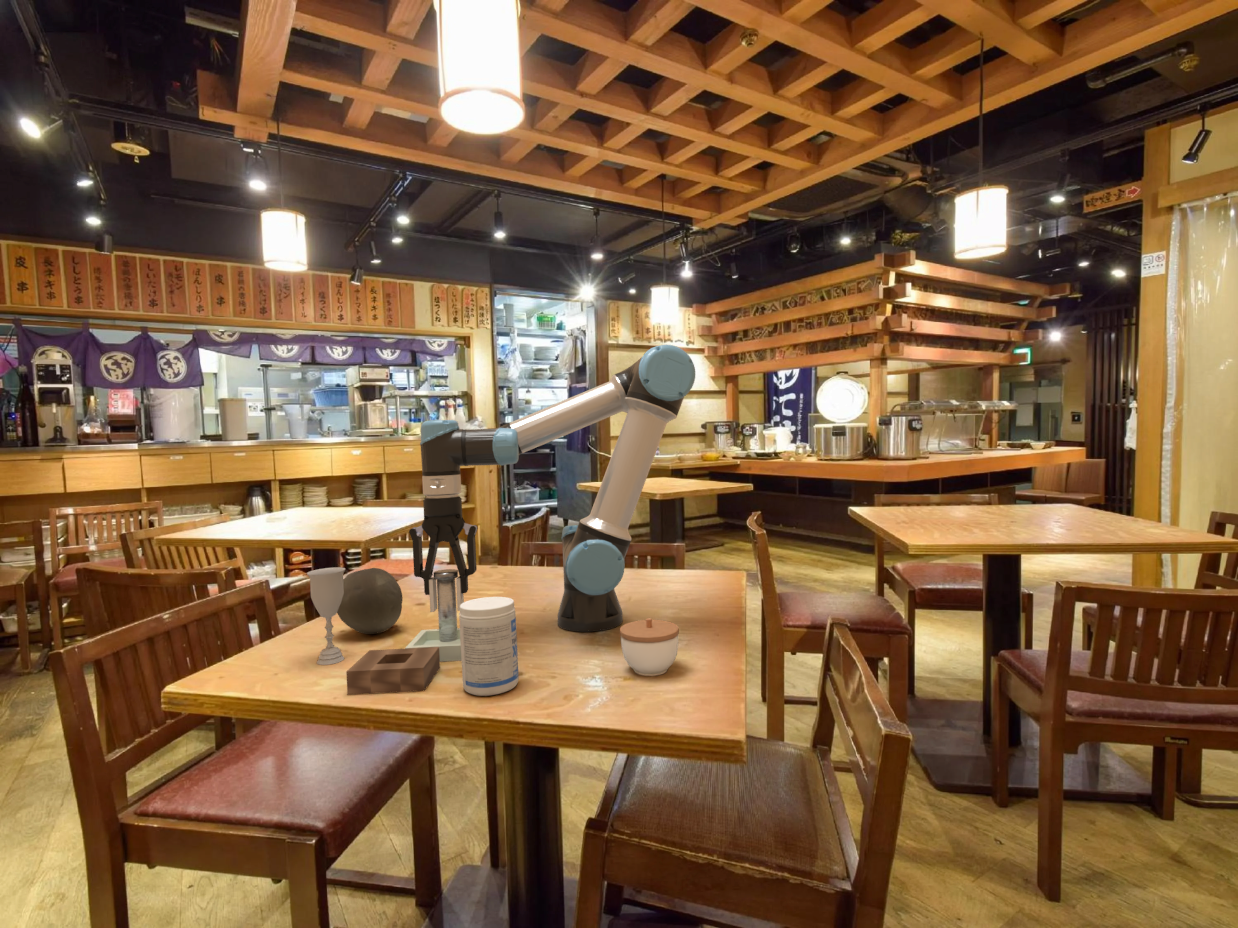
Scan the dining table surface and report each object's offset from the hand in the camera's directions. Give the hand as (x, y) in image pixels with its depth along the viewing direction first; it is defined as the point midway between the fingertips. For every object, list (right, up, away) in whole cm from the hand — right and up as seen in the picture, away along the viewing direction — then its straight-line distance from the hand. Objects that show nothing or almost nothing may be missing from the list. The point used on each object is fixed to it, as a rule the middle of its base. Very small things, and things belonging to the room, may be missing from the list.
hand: (447, 609), depth 126 cm
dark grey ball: (-21, -9, +14) cm, 27 cm away
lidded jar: (+41, -8, -14) cm, 44 cm away
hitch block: (-5, -9, -15) cm, 18 cm away
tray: (0, -9, 0) cm, 9 cm away
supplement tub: (+13, -9, -19) cm, 25 cm away
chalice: (-23, -10, -3) cm, 25 cm away
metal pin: (0, -6, 0) cm, 6 cm away
